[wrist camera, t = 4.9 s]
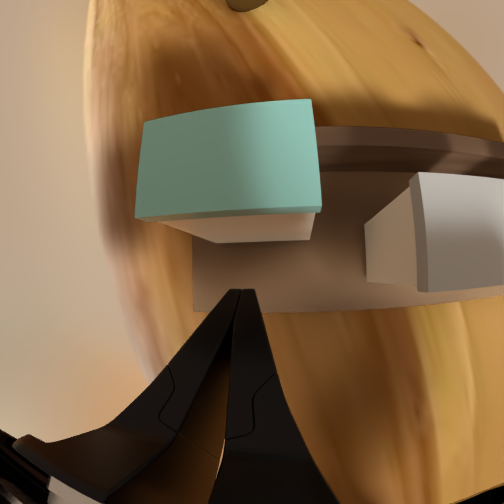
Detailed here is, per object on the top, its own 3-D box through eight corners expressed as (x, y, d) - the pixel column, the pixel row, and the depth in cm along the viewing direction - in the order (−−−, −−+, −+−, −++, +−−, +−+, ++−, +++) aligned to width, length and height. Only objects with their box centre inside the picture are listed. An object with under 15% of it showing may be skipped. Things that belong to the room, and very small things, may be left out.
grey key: (448, 278, 13) (544, 278, 5) (364, 283, 14) (428, 292, 6) (444, 222, 14) (534, 184, 6) (362, 222, 14) (418, 172, 7)
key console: (527, 288, 13) (569, 289, 8) (202, 308, 17) (166, 320, 12) (516, 176, 14) (553, 156, 9) (202, 173, 18) (170, 141, 13)
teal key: (311, 241, 15) (321, 205, 7) (214, 245, 16) (134, 218, 8) (308, 182, 15) (310, 99, 7) (214, 188, 16) (144, 121, 8)
